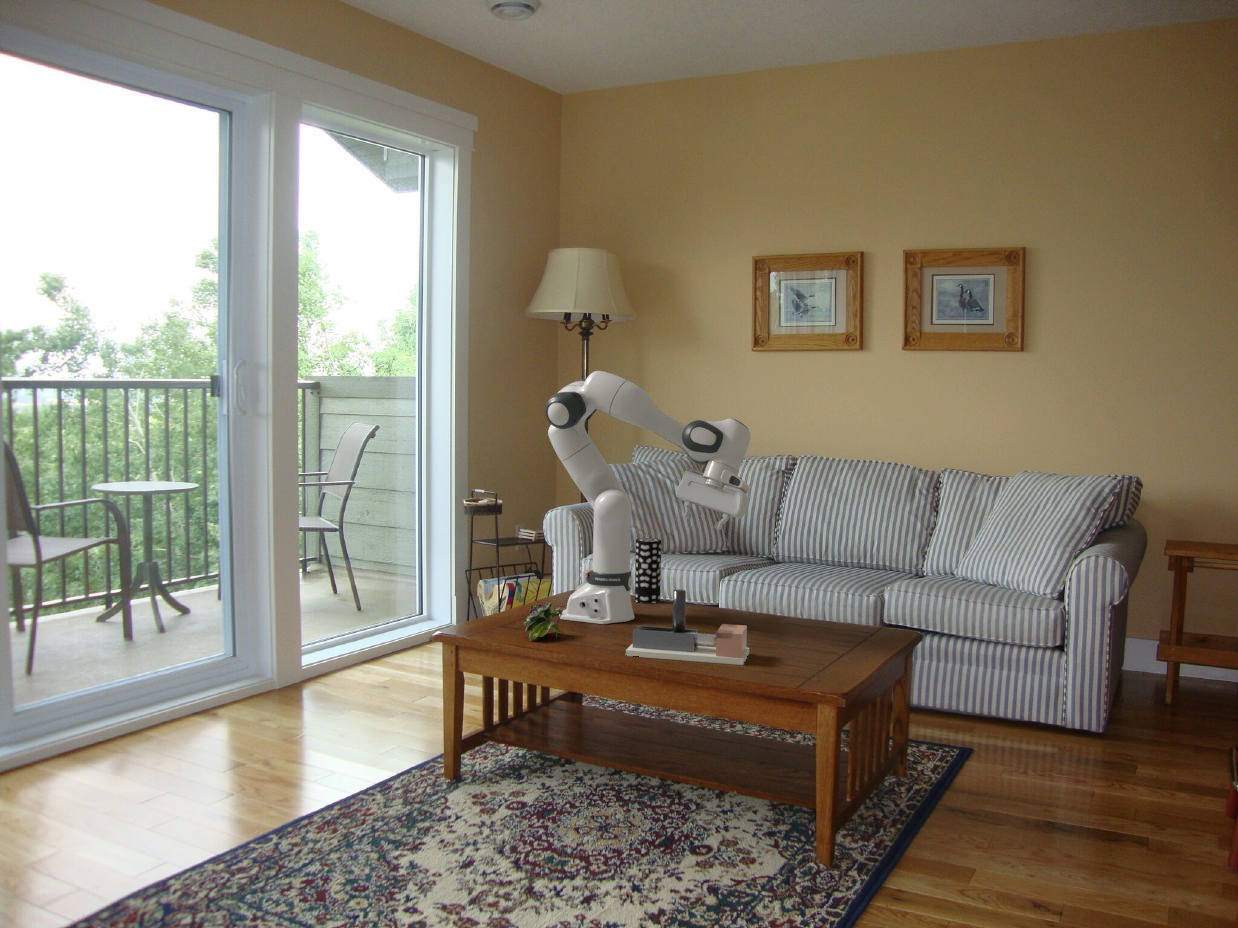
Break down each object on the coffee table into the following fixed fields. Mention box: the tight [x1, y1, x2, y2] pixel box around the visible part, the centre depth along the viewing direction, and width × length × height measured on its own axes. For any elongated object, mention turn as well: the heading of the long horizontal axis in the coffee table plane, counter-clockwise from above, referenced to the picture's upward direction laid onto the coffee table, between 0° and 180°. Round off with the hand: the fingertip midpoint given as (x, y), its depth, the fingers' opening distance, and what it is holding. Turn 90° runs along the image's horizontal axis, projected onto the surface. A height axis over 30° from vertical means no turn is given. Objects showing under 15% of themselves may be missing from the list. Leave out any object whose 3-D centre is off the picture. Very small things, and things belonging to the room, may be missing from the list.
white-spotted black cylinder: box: [634, 537, 662, 604], centre depth 327 cm, size 8×8×20 cm
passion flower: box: [523, 601, 563, 642], centre depth 276 cm, size 11×11×12 cm
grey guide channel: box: [632, 624, 699, 652], centre depth 261 cm, size 16×6×5 cm, turn 76°
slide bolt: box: [671, 588, 716, 647], centre depth 258 cm, size 16×3×14 cm, turn 76°
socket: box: [715, 623, 748, 658], centre depth 256 cm, size 6×10×6 cm, turn 166°
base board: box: [625, 642, 750, 666], centre depth 259 cm, size 30×12×2 cm, turn 76°
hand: (701, 523), depth 275 cm, fingers open, 8 cm apart
